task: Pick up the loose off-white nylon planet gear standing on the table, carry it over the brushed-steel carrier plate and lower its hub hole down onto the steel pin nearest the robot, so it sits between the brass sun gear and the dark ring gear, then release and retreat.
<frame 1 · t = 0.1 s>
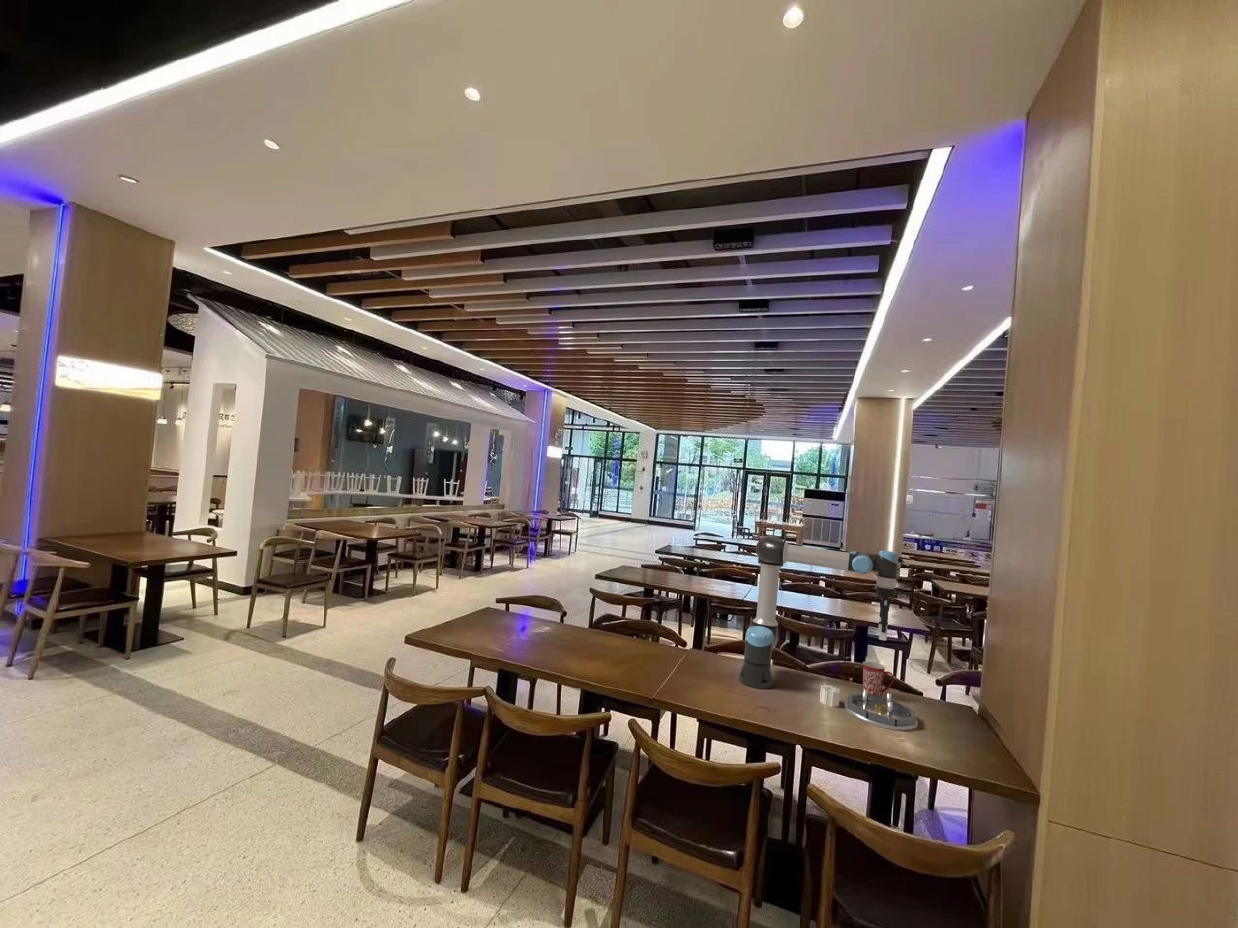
hand: (882, 636, 227), 28 cm above the table, fingers open, 13 cm apart
mug: (876, 697, 232), on the table
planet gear: (829, 703, 219), on the table
carrier: (879, 715, 212), on the table
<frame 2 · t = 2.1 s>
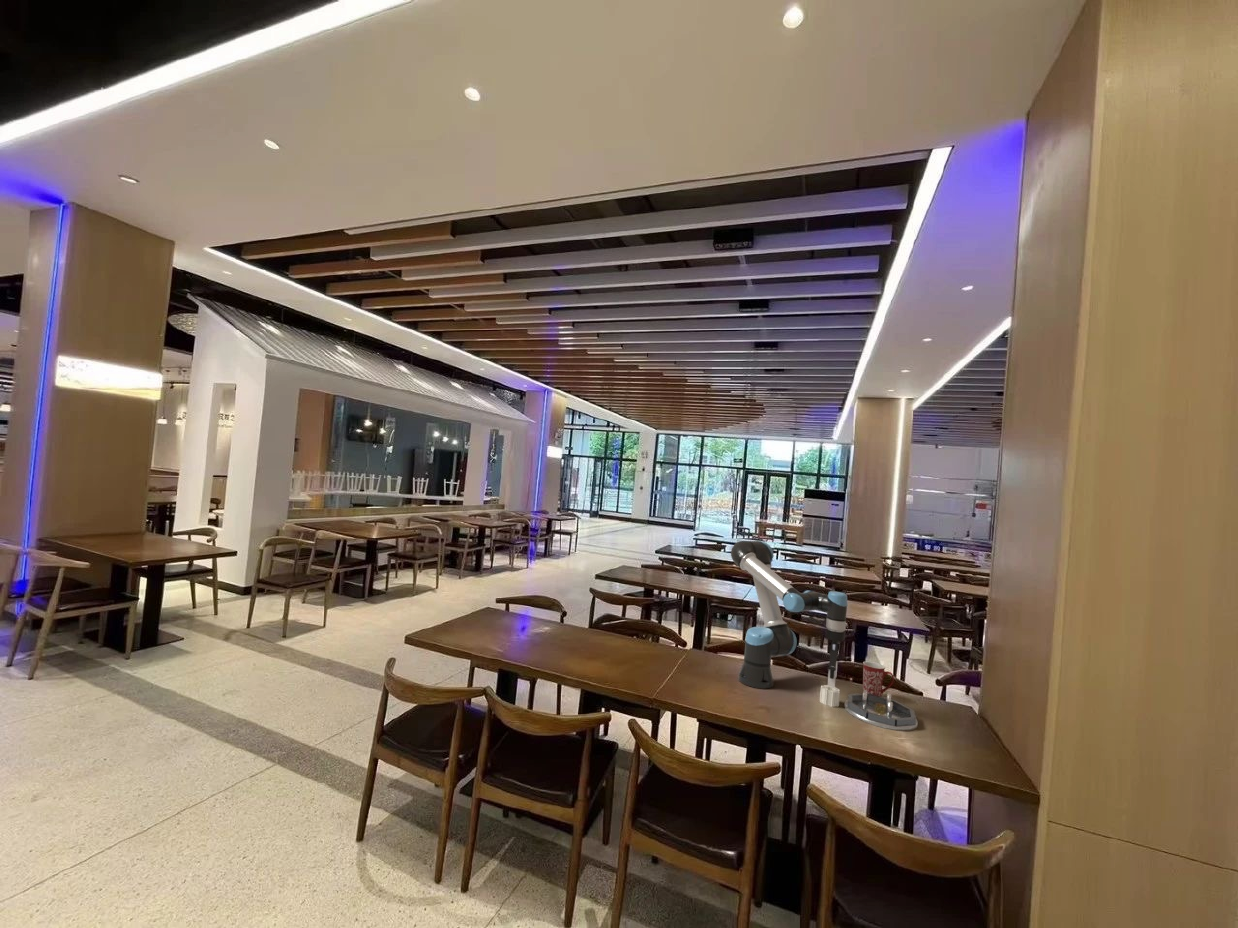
hand: (832, 681, 219), 9 cm above the table, fingers open, 13 cm apart
nothing on the table moved.
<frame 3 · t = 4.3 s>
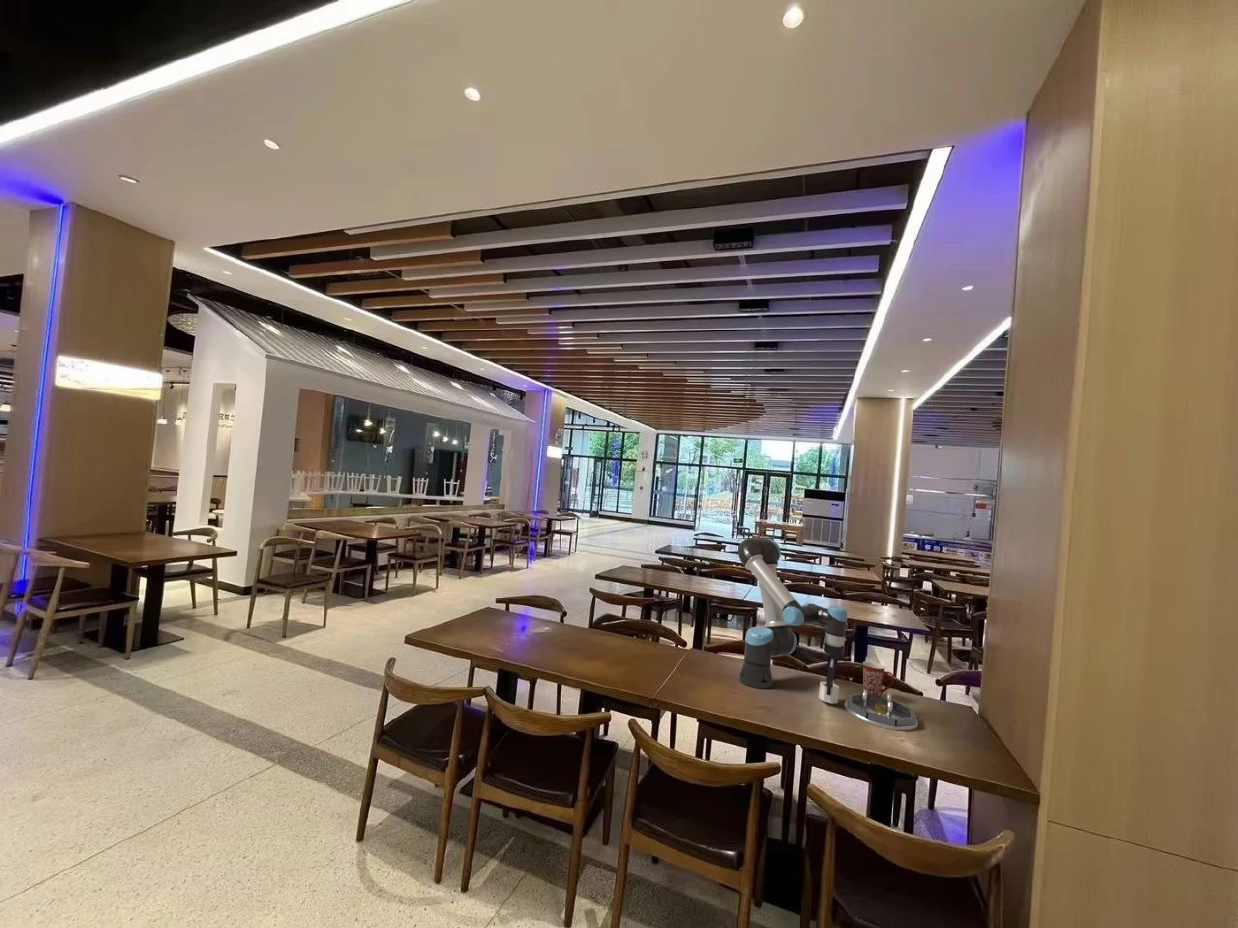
hand: (828, 698, 219), 2 cm above the table, fingers closed on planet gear, 7 cm apart
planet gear: (828, 699, 219), point 1 cm above the table, touching gripper
everything else where it was.
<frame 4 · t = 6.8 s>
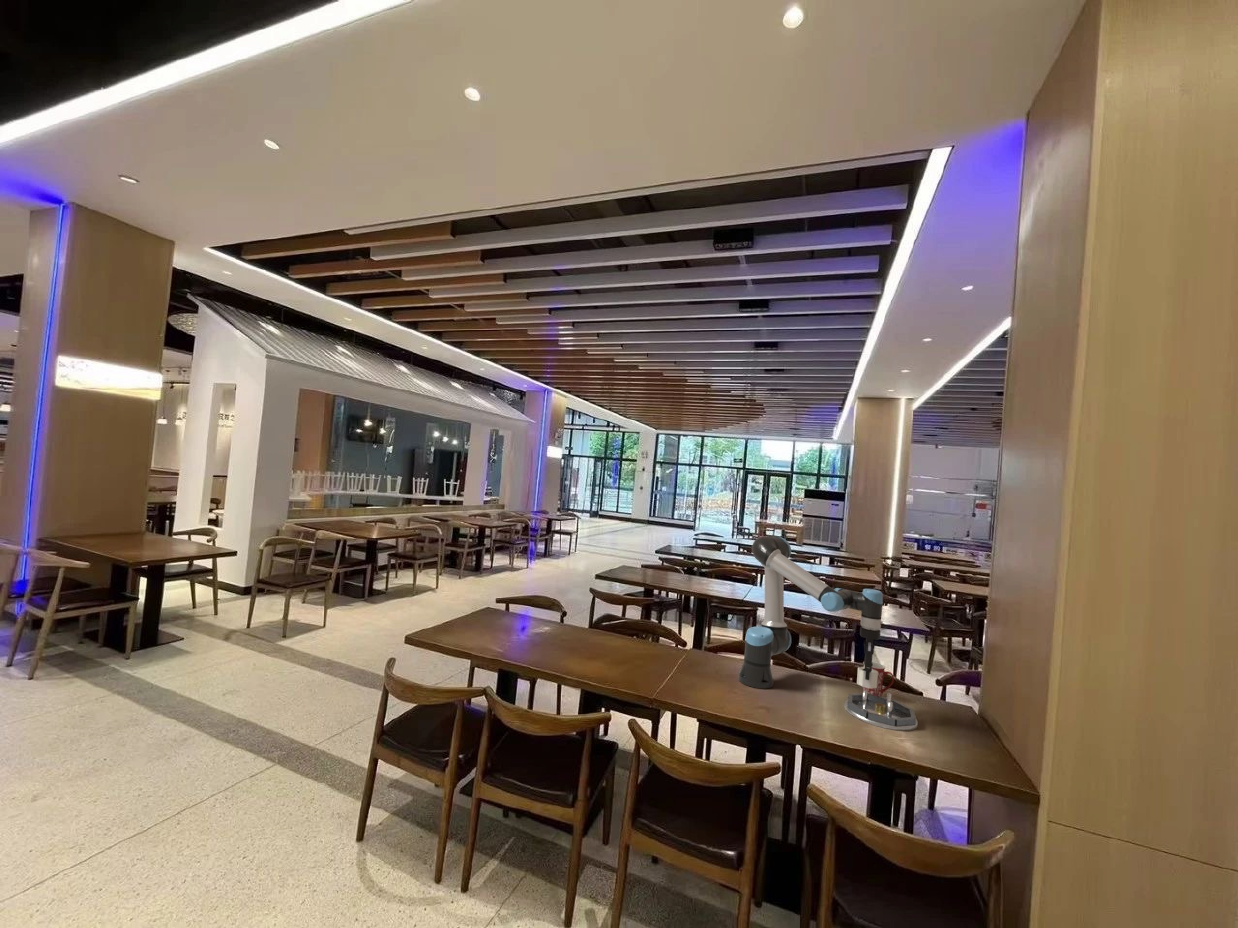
hand: (866, 684, 214), 11 cm above the table, fingers closed on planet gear, 7 cm apart
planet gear: (866, 685, 214), point 11 cm above the table, touching gripper
everything else where it was.
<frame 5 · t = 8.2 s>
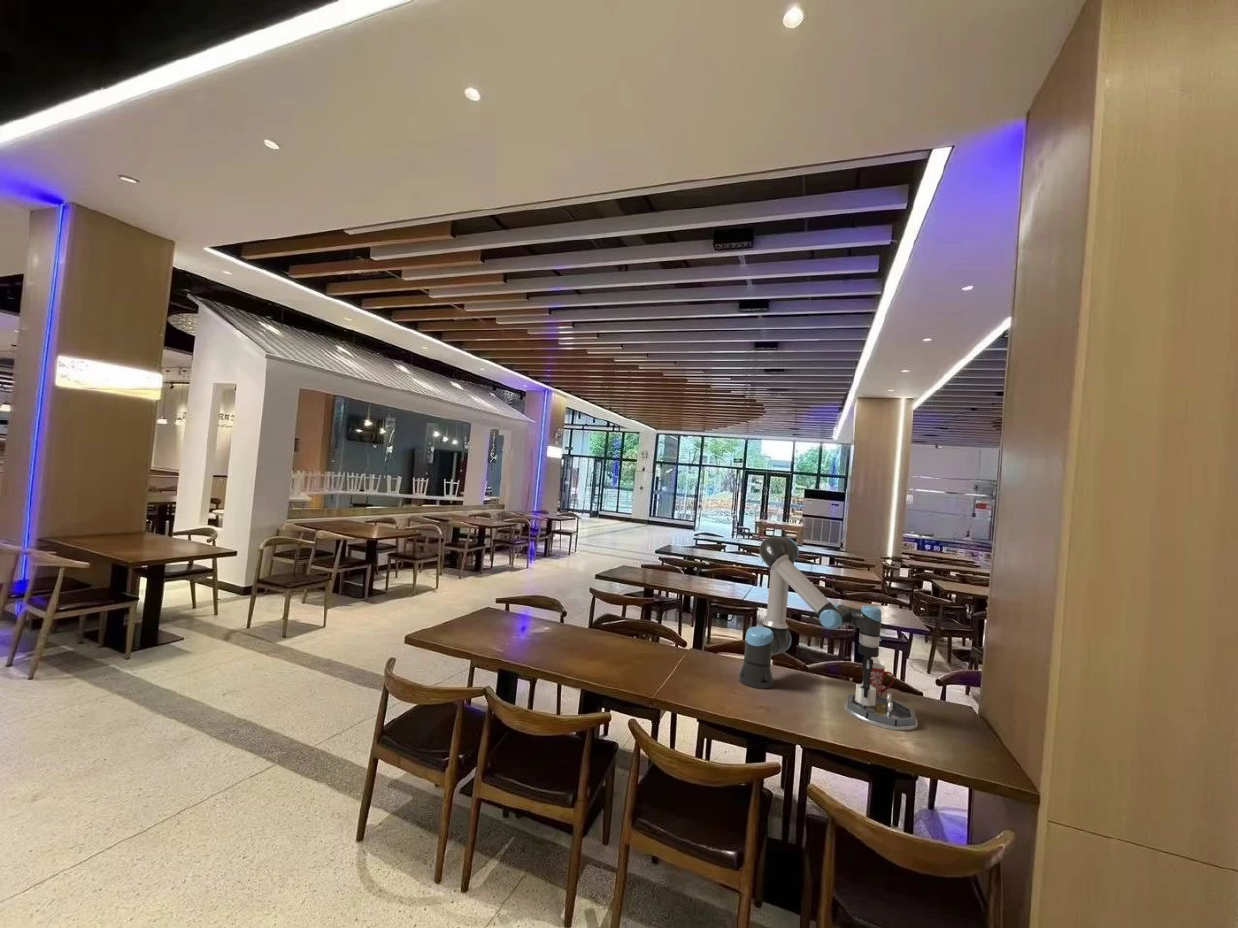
hand: (864, 701, 214), 4 cm above the table, fingers closed on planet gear, 7 cm apart
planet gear: (865, 702, 214), point 4 cm above the table, touching gripper
everything else where it was.
when the fingers open (2 cm above the table, at t = 9.1 s): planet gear stays where it is, resting on carrier.
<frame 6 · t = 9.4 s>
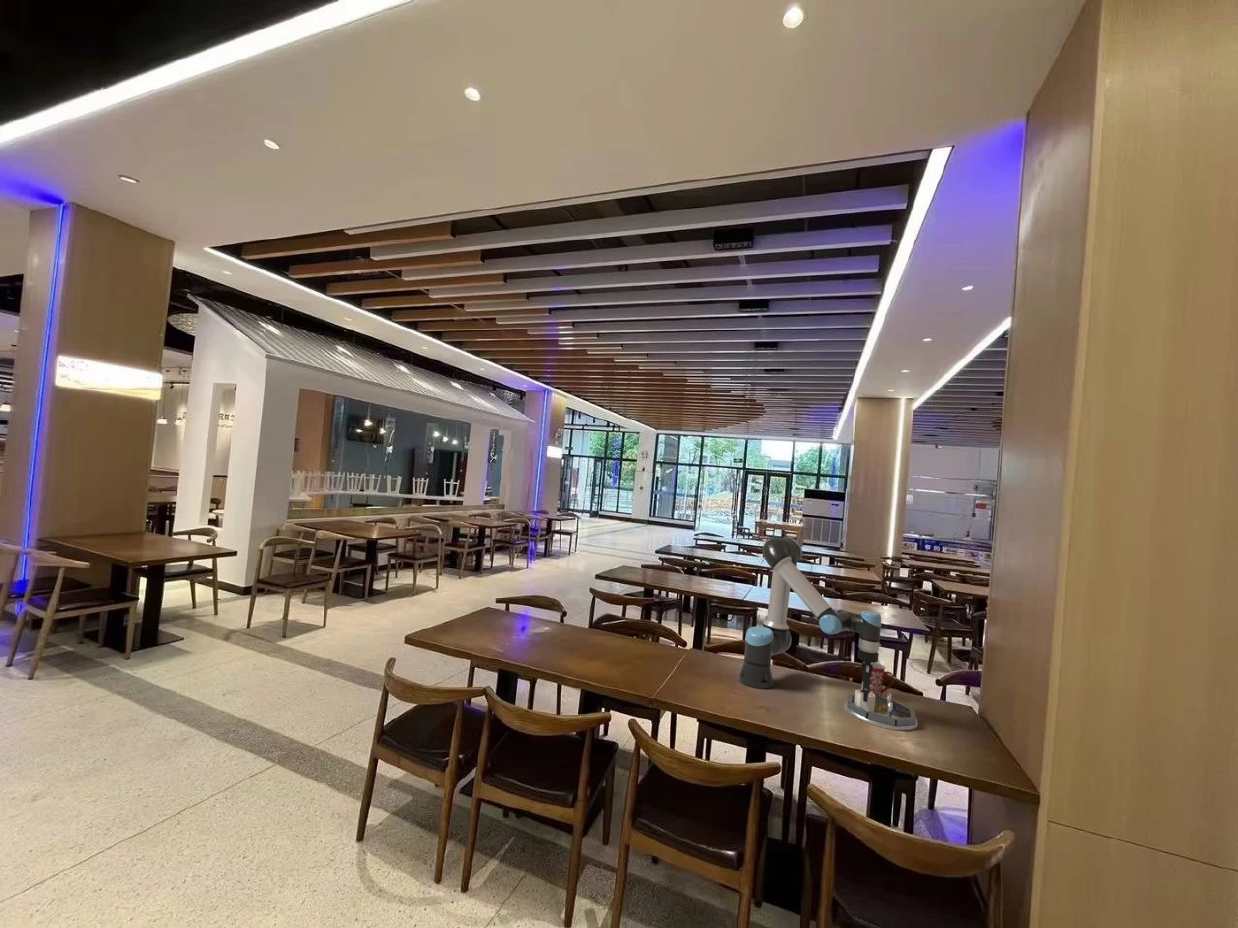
hand: (864, 703, 214), 3 cm above the table, fingers open, 12 cm apart
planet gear: (864, 708, 214), point 1 cm above the table, touching carrier
everything else where it was.
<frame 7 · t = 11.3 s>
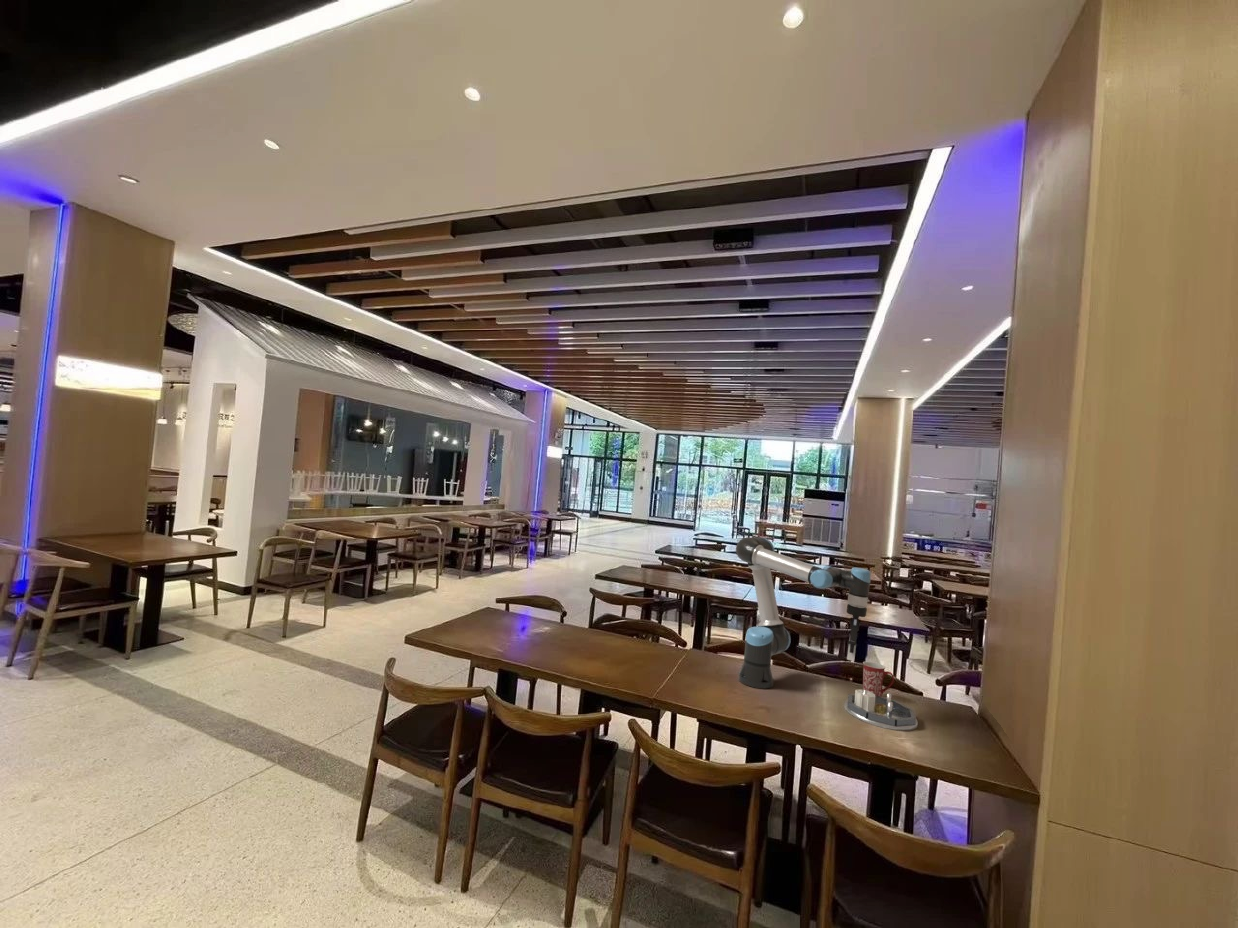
hand: (850, 655, 220), 20 cm above the table, fingers open, 13 cm apart
nothing on the table moved.
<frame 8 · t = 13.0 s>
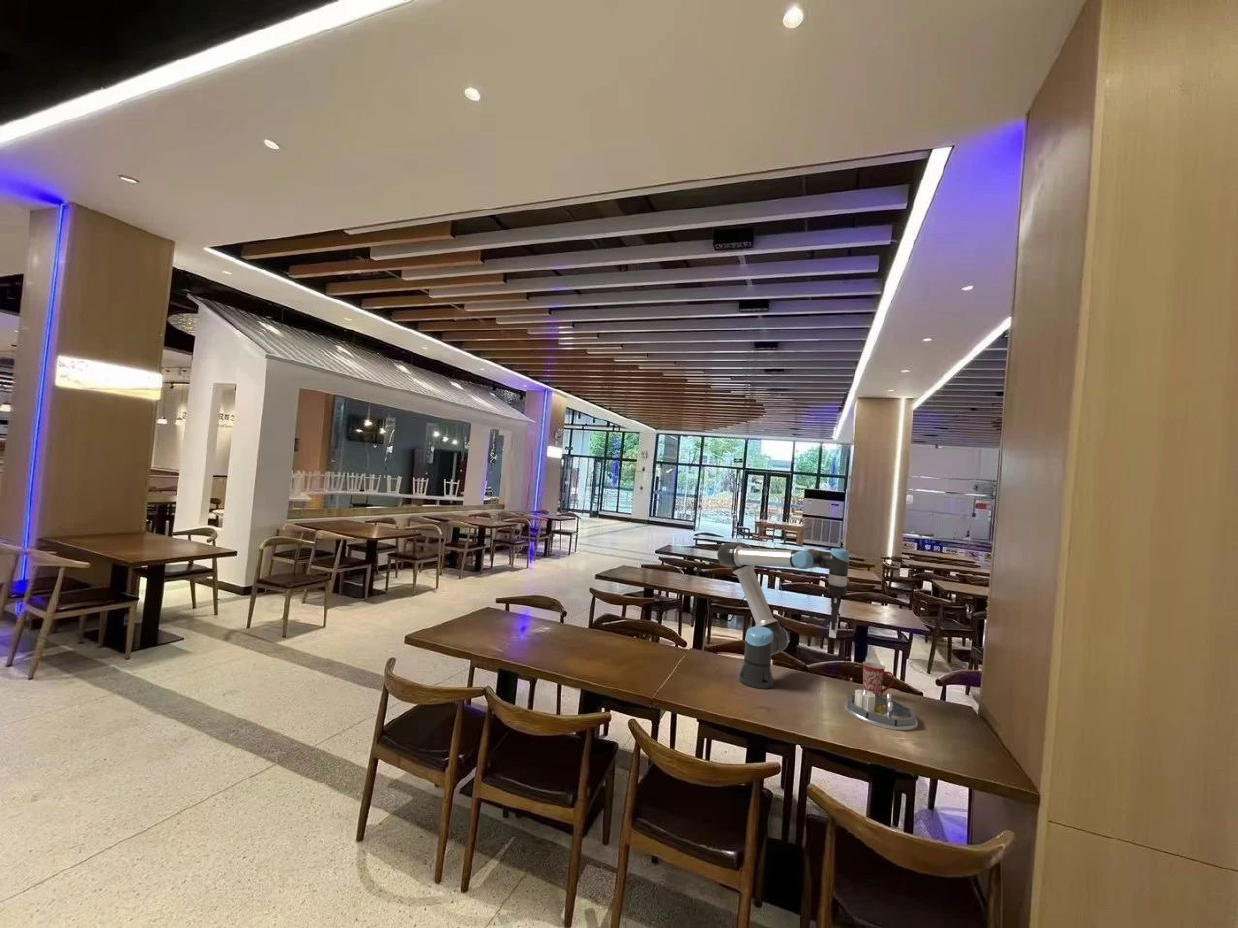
hand: (833, 634, 228), 27 cm above the table, fingers open, 13 cm apart
nothing on the table moved.
at the end: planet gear 0.1 cm from the target spot on the carrier, point 1.2 cm above the carrier's base; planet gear tilted 0°; the gripper is holding nothing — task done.
